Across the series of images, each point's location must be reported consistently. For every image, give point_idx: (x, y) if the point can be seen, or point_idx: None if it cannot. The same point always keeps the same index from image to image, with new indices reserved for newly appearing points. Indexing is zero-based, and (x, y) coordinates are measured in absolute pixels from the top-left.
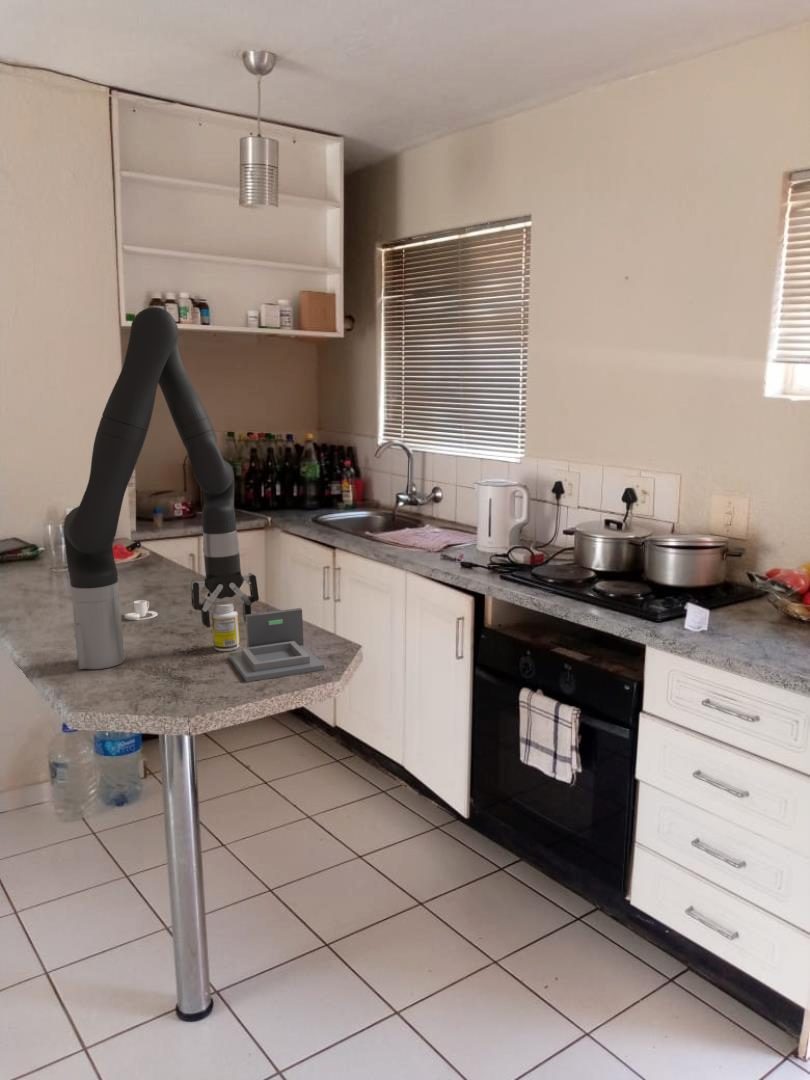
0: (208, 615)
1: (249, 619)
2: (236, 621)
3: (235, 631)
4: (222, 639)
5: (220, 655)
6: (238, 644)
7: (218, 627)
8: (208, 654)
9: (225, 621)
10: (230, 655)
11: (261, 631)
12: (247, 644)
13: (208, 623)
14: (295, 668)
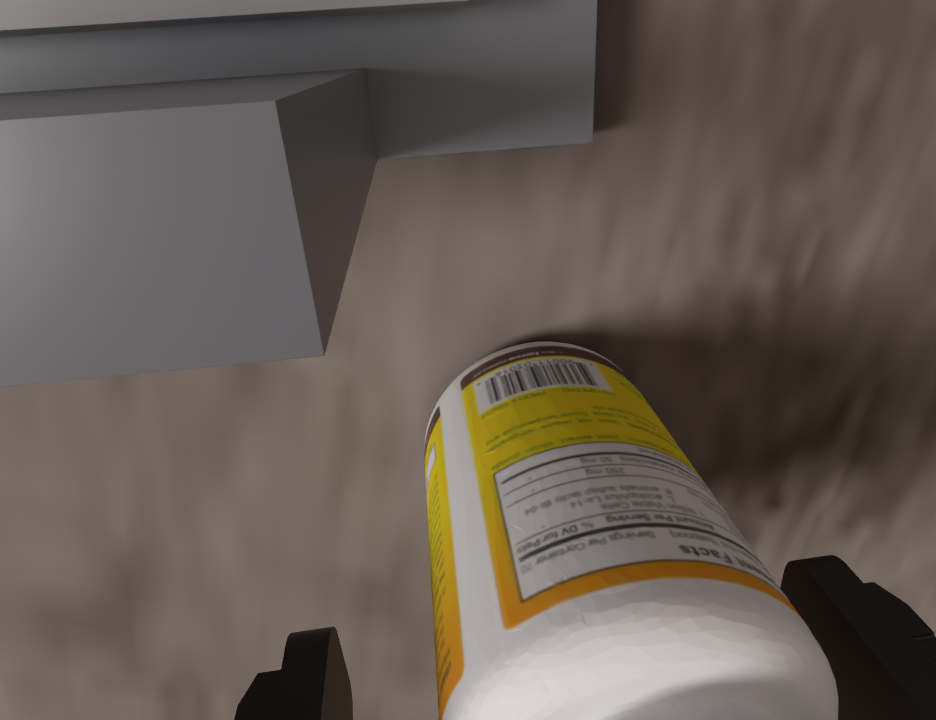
0: (926, 701)
1: (220, 97)
2: (475, 581)
3: (485, 467)
4: (626, 403)
5: (632, 257)
6: (442, 404)
7: (719, 508)
8: (718, 323)
9: (668, 544)
10: (593, 54)
11: (62, 96)
12: (370, 154)
13: (845, 592)
14: None
